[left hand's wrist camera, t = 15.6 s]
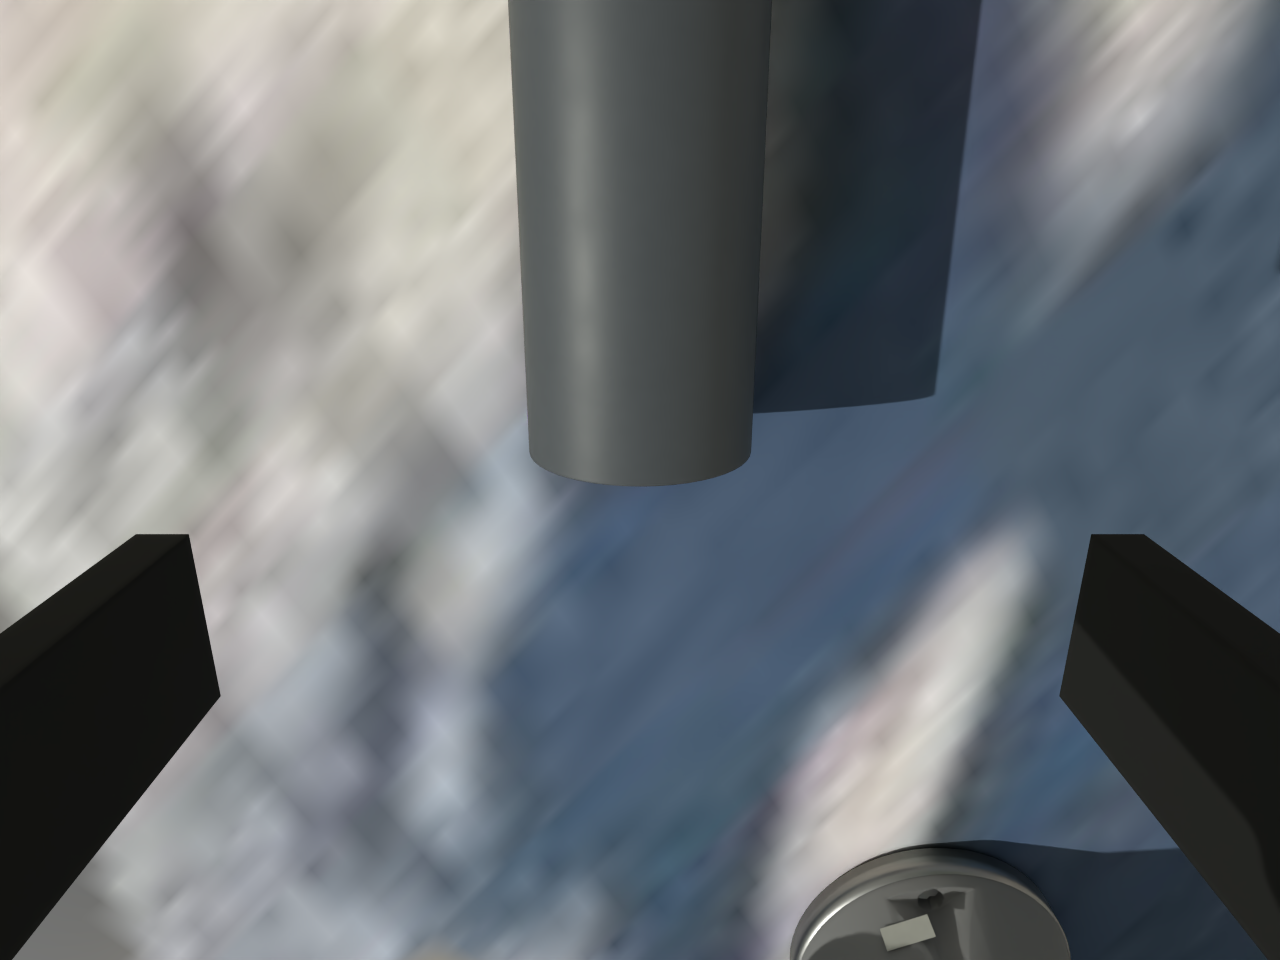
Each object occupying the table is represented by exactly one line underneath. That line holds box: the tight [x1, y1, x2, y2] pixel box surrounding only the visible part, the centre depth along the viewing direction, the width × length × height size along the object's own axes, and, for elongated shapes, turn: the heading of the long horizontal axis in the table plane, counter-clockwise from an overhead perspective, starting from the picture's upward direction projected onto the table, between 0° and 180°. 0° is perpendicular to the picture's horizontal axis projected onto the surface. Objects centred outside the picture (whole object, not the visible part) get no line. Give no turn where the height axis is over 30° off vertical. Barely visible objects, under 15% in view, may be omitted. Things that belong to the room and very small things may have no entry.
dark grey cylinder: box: [508, 0, 772, 486], centre depth 30 cm, size 25×9×9 cm, turn 0°
